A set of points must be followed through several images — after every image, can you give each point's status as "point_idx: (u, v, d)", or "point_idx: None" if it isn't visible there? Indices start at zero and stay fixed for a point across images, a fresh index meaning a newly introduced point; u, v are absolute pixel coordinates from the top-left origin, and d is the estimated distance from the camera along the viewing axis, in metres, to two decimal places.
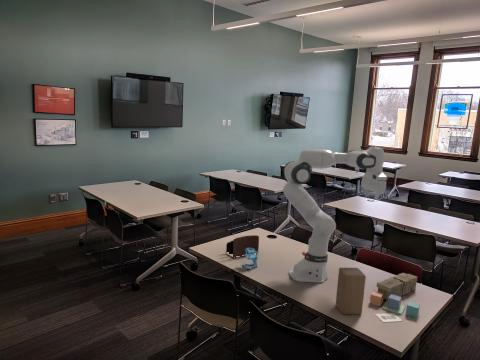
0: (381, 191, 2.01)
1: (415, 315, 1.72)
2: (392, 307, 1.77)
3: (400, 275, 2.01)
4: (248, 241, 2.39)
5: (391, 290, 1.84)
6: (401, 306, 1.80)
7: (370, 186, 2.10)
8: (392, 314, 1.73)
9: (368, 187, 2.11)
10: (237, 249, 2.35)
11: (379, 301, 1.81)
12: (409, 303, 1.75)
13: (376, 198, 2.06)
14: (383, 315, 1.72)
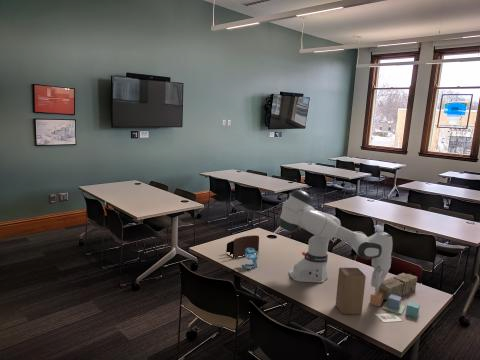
0: None
1: (415, 315, 1.72)
2: (392, 307, 1.77)
3: (400, 275, 2.01)
4: (248, 241, 2.39)
5: (391, 290, 1.83)
6: (401, 306, 1.80)
7: (383, 276, 1.82)
8: (392, 314, 1.73)
9: (382, 279, 1.81)
10: (237, 249, 2.35)
11: (379, 301, 1.81)
12: (409, 303, 1.75)
13: None
14: (383, 315, 1.72)
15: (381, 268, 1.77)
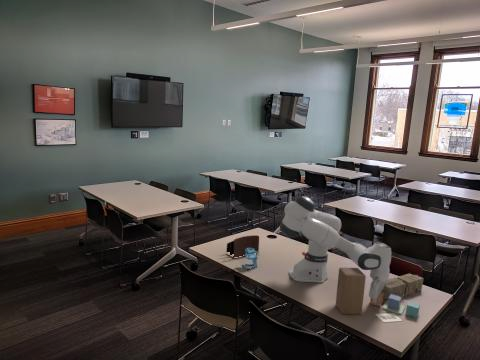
0: None
1: (415, 315, 1.72)
2: (392, 307, 1.77)
3: (405, 276, 2.02)
4: (248, 241, 2.39)
5: (391, 290, 1.86)
6: (401, 306, 1.80)
7: (381, 287, 1.82)
8: (392, 314, 1.73)
9: (380, 290, 1.81)
10: (238, 249, 2.35)
11: (379, 301, 1.81)
12: (409, 303, 1.75)
13: None
14: (383, 315, 1.72)
15: (379, 279, 1.78)
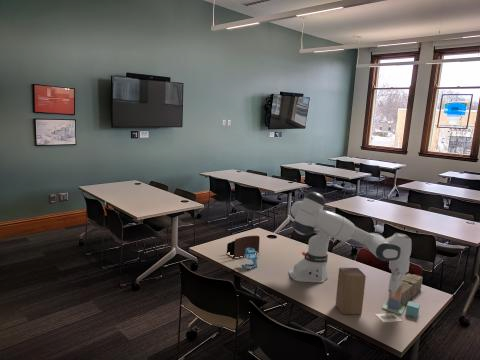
0: None
1: (415, 315, 1.72)
2: (392, 307, 1.77)
3: (406, 276, 2.01)
4: (249, 241, 2.38)
5: (404, 294, 1.82)
6: (401, 306, 1.80)
7: (401, 280, 1.76)
8: (392, 314, 1.73)
9: (400, 283, 1.75)
10: (238, 249, 2.34)
11: (398, 295, 1.75)
12: (409, 303, 1.75)
13: None
14: (383, 315, 1.72)
15: (399, 271, 1.72)
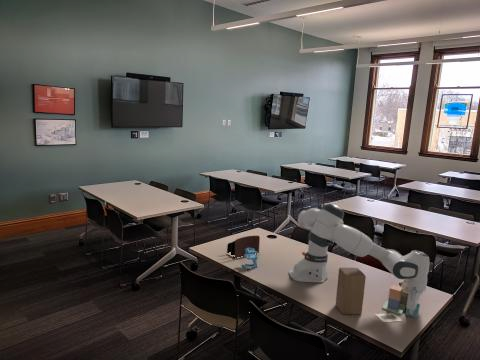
0: None
1: (415, 315, 1.72)
2: (392, 307, 1.77)
3: None
4: (249, 241, 2.38)
5: None
6: (401, 306, 1.80)
7: (418, 298, 1.73)
8: (392, 314, 1.73)
9: (417, 301, 1.72)
10: (239, 250, 2.34)
11: (398, 295, 1.75)
12: None
13: None
14: (383, 315, 1.72)
15: (417, 289, 1.69)
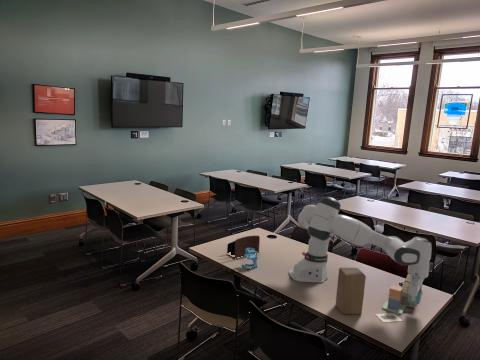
0: None
1: (417, 301, 1.71)
2: (392, 307, 1.77)
3: (409, 277, 2.00)
4: (249, 241, 2.38)
5: None
6: (401, 306, 1.80)
7: (420, 284, 1.72)
8: (392, 314, 1.73)
9: (419, 288, 1.71)
10: (239, 250, 2.34)
11: (398, 295, 1.75)
12: None
13: None
14: (383, 315, 1.72)
15: (419, 276, 1.68)
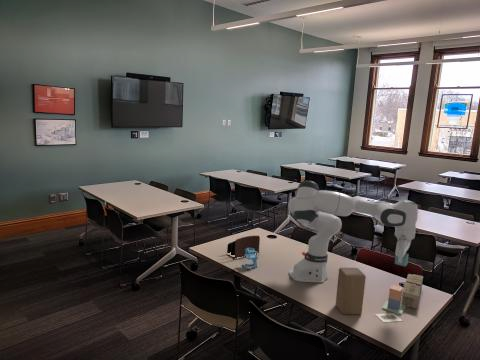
0: None
1: (404, 263, 1.73)
2: (392, 307, 1.77)
3: (410, 277, 2.00)
4: (249, 241, 2.38)
5: (418, 297, 1.79)
6: (401, 306, 1.80)
7: (407, 247, 1.74)
8: (392, 314, 1.73)
9: (406, 250, 1.73)
10: (239, 250, 2.34)
11: (398, 295, 1.75)
12: None
13: None
14: (383, 315, 1.72)
15: (406, 237, 1.70)
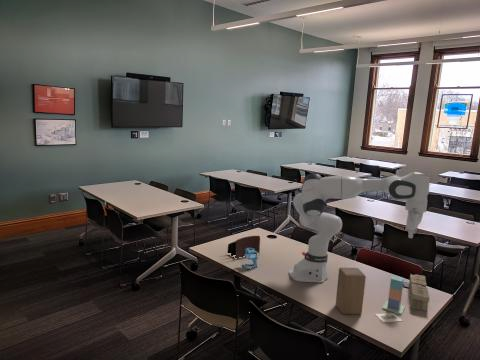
0: None
1: (399, 288, 1.75)
2: (392, 307, 1.77)
3: (413, 278, 1.99)
4: (250, 242, 2.38)
5: (428, 299, 1.78)
6: (401, 306, 1.80)
7: (418, 221, 1.68)
8: (392, 314, 1.73)
9: (417, 224, 1.67)
10: (240, 250, 2.34)
11: (398, 295, 1.75)
12: (393, 277, 1.78)
13: None
14: (383, 315, 1.72)
15: (417, 210, 1.64)
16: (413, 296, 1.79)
